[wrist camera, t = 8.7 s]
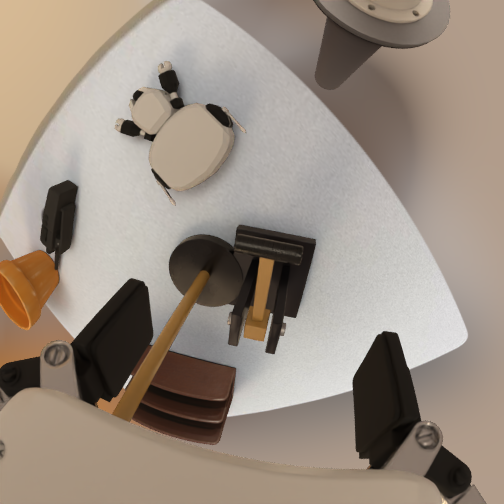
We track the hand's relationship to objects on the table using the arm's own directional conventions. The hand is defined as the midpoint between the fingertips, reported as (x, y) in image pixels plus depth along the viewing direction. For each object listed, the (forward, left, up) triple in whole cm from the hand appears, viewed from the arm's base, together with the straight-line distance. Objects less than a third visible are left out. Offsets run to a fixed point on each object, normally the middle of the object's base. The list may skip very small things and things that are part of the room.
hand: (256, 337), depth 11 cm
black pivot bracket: (+12, +3, -25) cm, 28 cm away
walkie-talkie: (+22, -30, -23) cm, 44 cm away
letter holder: (+41, -2, -26) cm, 49 cm away
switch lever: (+7, +1, -14) cm, 16 cm away
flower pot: (+35, -39, -26) cm, 59 cm away
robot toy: (-1, -15, -26) cm, 30 cm away
